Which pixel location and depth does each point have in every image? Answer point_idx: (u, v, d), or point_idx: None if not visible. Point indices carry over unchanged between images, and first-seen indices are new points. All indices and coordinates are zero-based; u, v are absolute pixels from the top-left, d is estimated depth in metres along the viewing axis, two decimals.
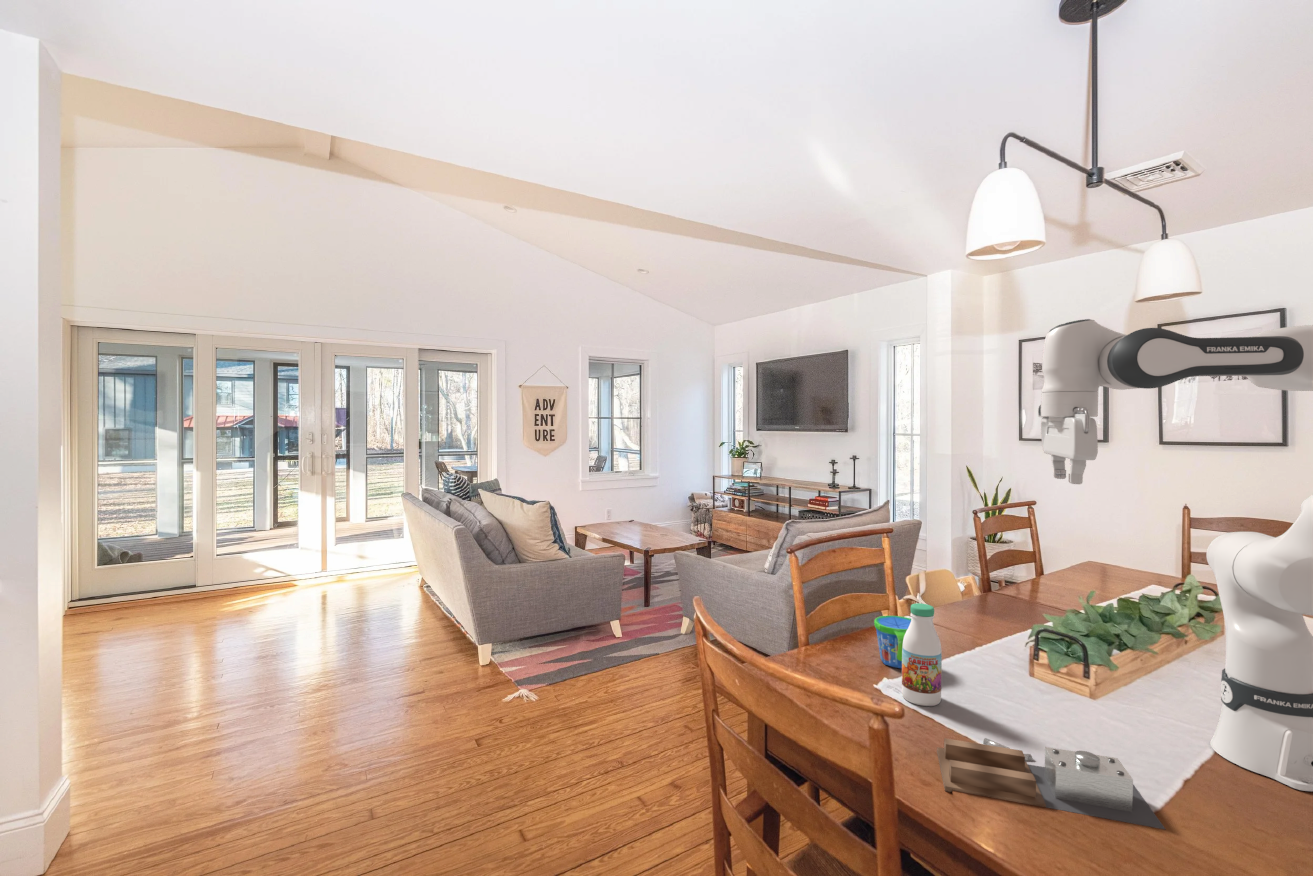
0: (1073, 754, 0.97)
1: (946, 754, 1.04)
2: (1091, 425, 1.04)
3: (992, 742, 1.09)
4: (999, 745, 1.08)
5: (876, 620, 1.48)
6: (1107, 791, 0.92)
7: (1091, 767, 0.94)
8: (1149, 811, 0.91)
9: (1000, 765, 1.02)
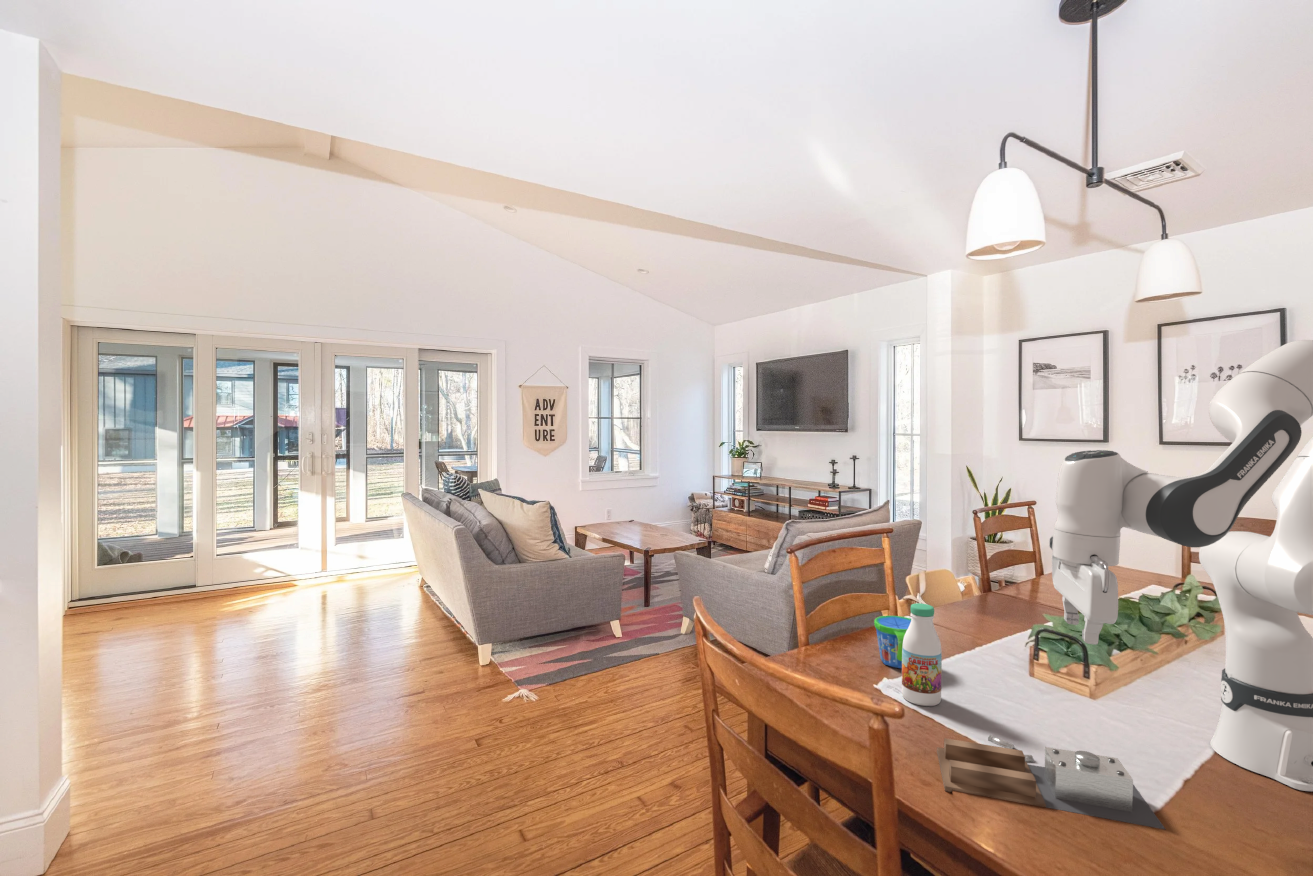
0: (1073, 754, 0.97)
1: (946, 754, 1.04)
2: (1111, 584, 0.89)
3: None
4: None
5: (876, 620, 1.48)
6: (1107, 791, 0.92)
7: (1091, 767, 0.94)
8: (1149, 811, 0.91)
9: (1000, 765, 1.02)
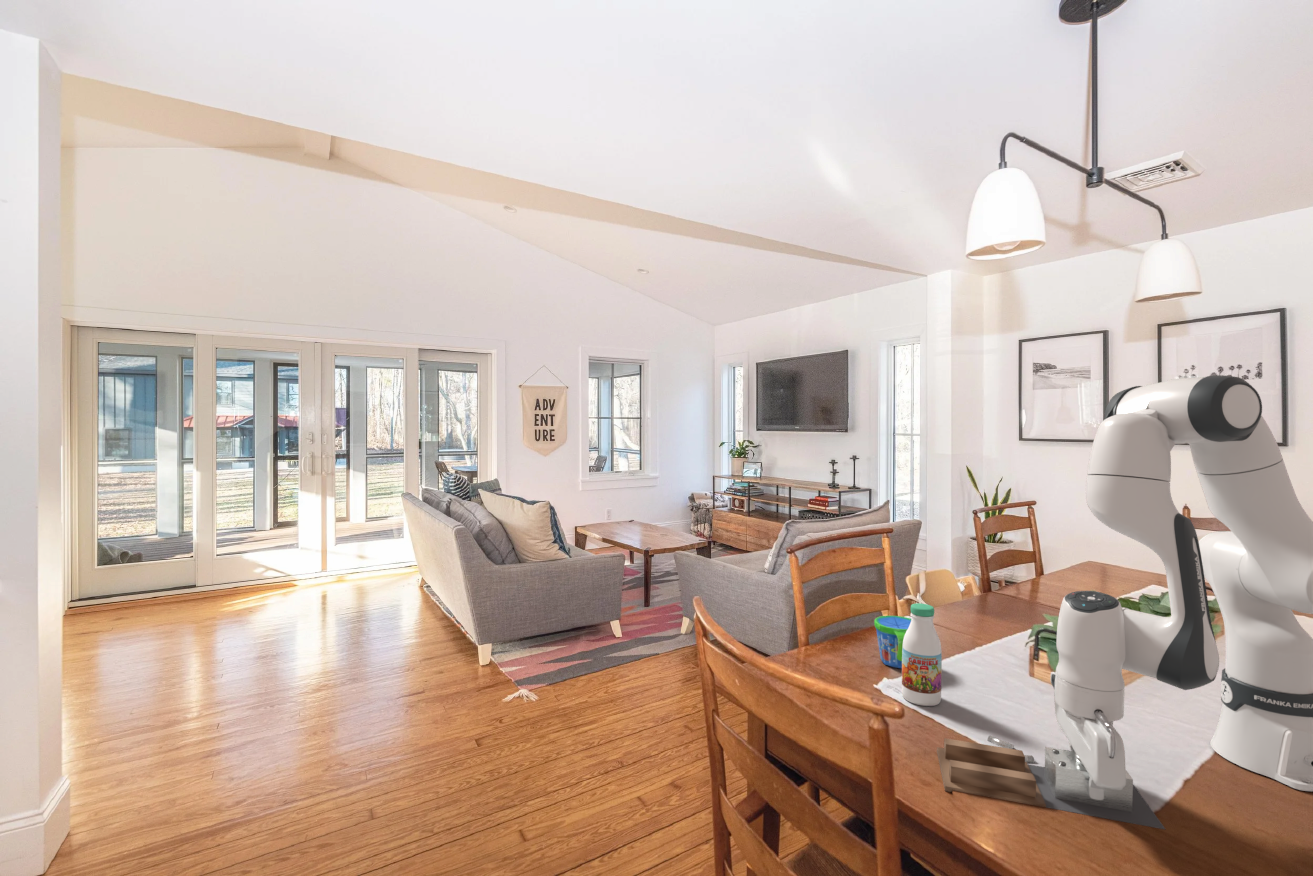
0: (1073, 754, 0.97)
1: (946, 754, 1.04)
2: (1117, 749, 0.86)
3: None
4: None
5: (876, 620, 1.48)
6: (1107, 790, 0.92)
7: None
8: (1149, 811, 0.91)
9: (1000, 765, 1.02)
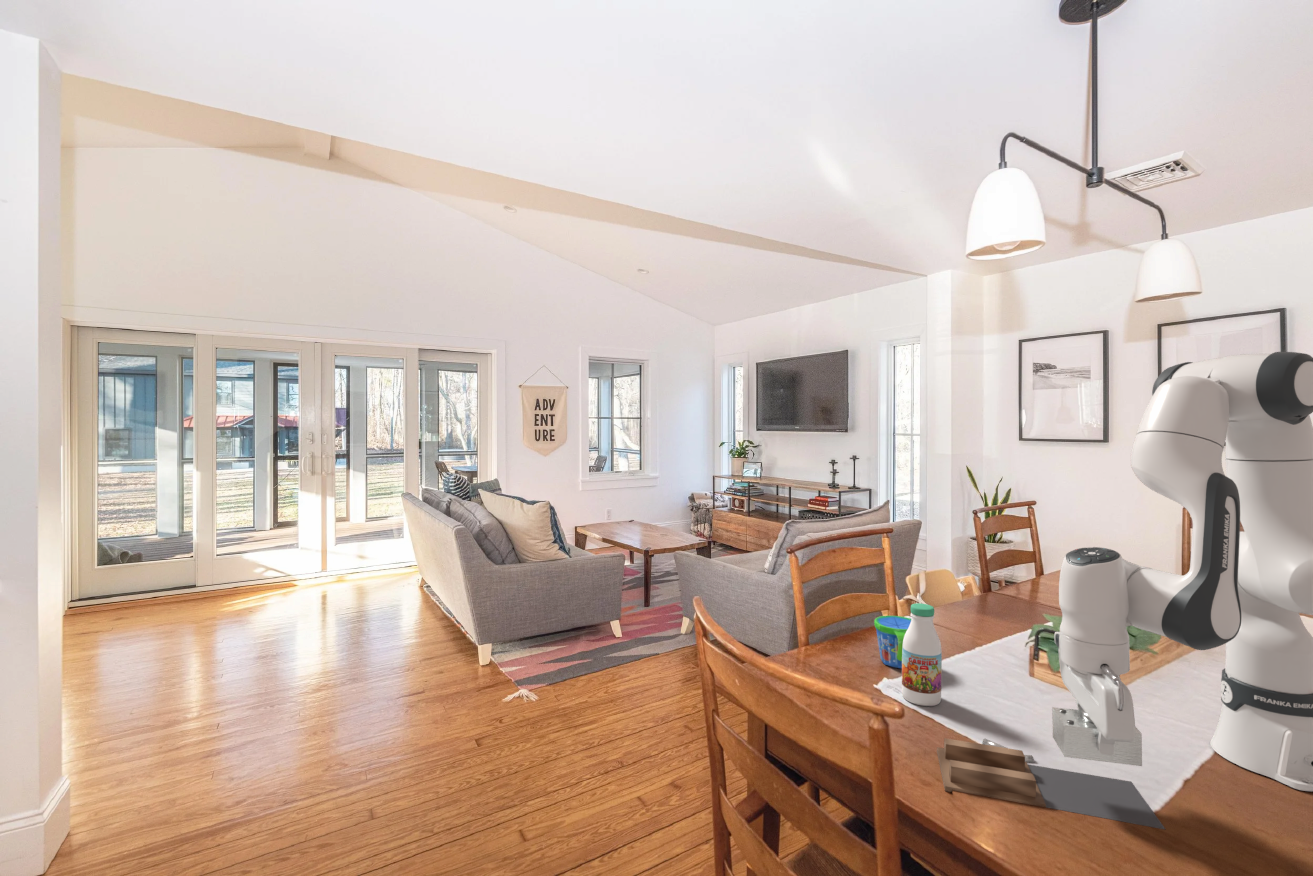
0: (1080, 713, 0.97)
1: (946, 754, 1.04)
2: (1126, 701, 0.85)
3: (990, 744, 1.09)
4: None
5: (876, 620, 1.48)
6: (1116, 746, 0.91)
7: None
8: (1149, 811, 0.91)
9: (1000, 765, 1.02)
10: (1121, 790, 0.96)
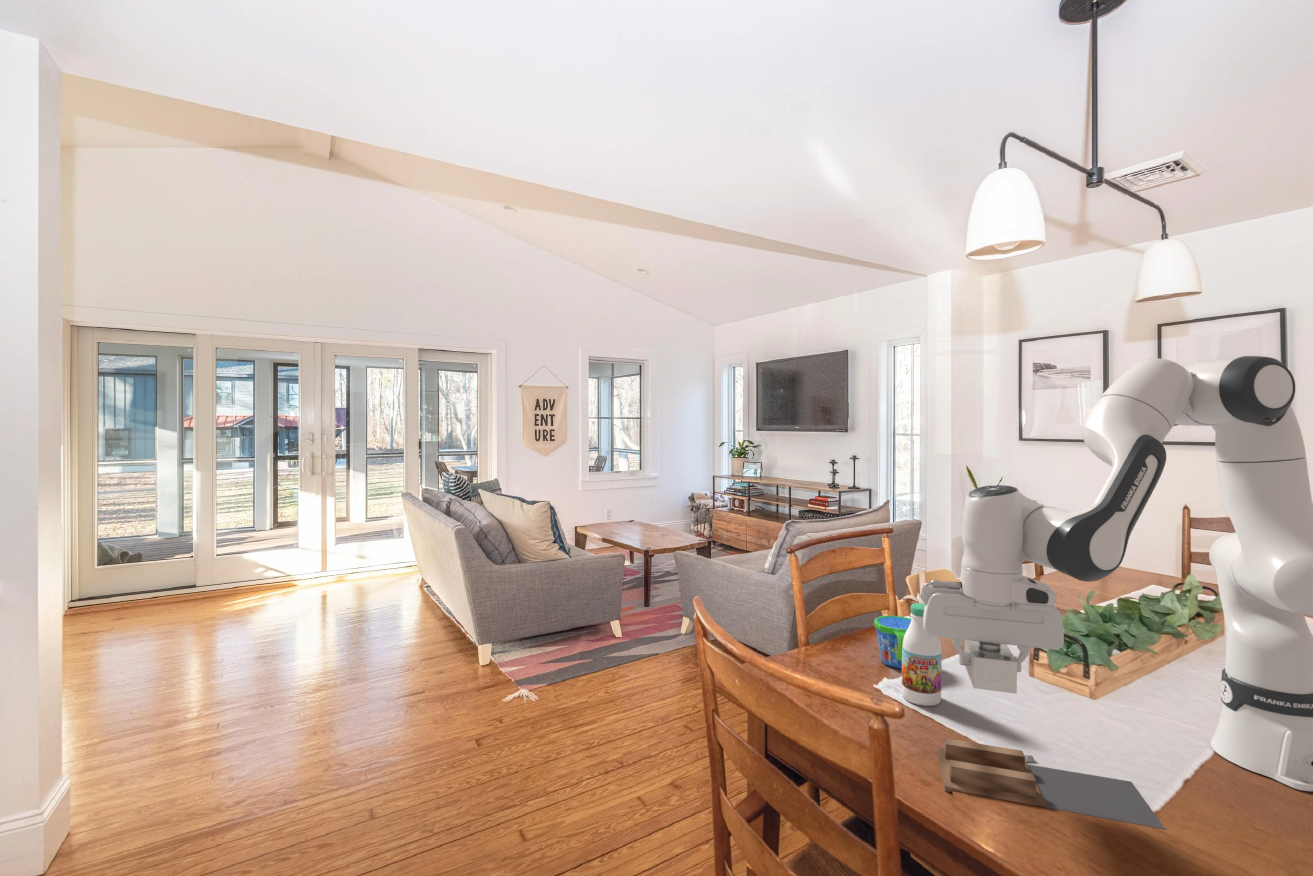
0: (1000, 646, 1.00)
1: (946, 754, 1.04)
2: (928, 599, 1.01)
3: None
4: None
5: (876, 620, 1.48)
6: (970, 664, 0.99)
7: (979, 647, 1.00)
8: (1149, 811, 0.91)
9: (1000, 765, 1.02)
10: (1121, 790, 0.96)
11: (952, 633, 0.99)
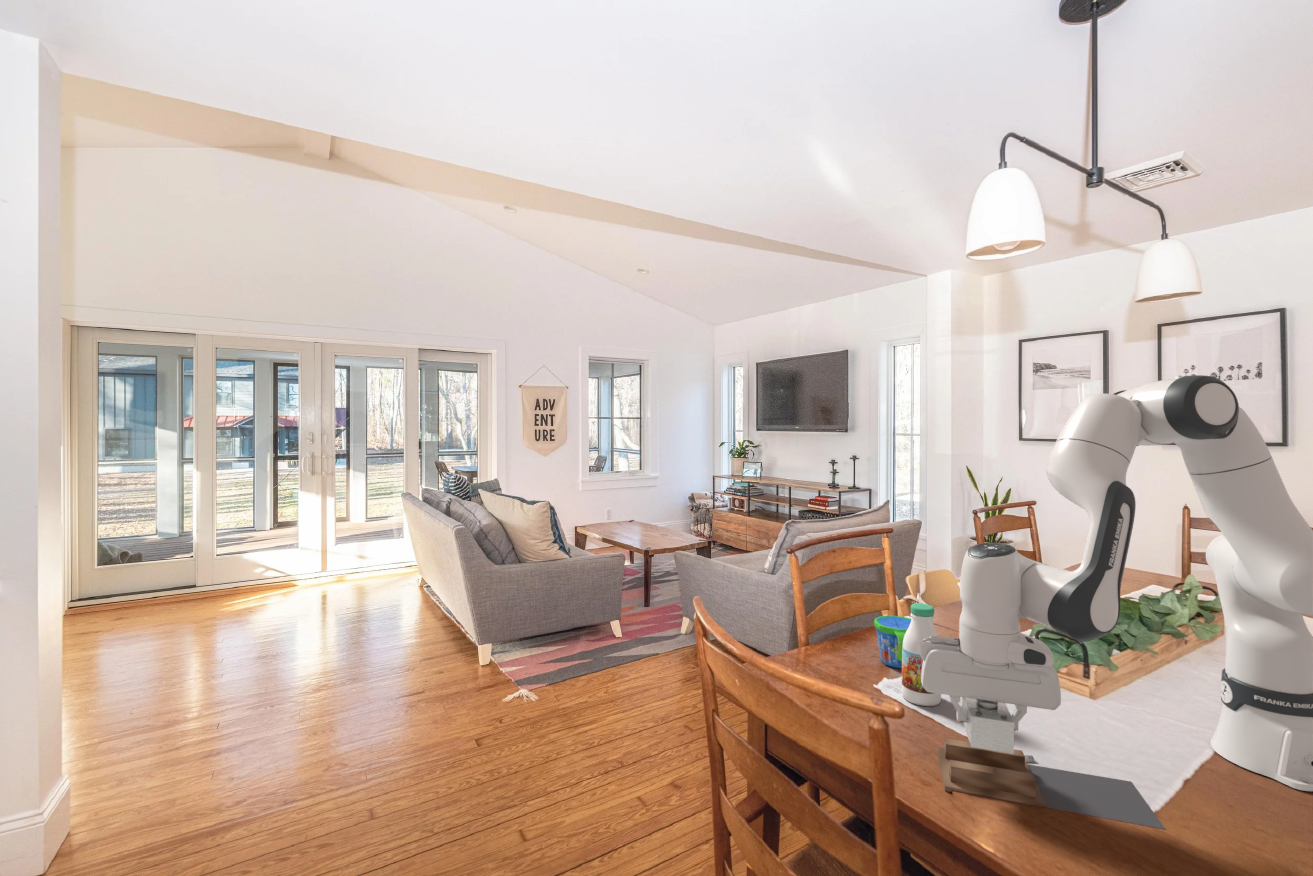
0: (998, 703, 1.00)
1: (946, 754, 1.04)
2: (926, 655, 1.02)
3: None
4: None
5: (876, 620, 1.48)
6: (968, 721, 0.99)
7: (977, 704, 1.00)
8: (1149, 811, 0.91)
9: (1000, 765, 1.02)
10: (1121, 790, 0.96)
11: (950, 690, 1.00)
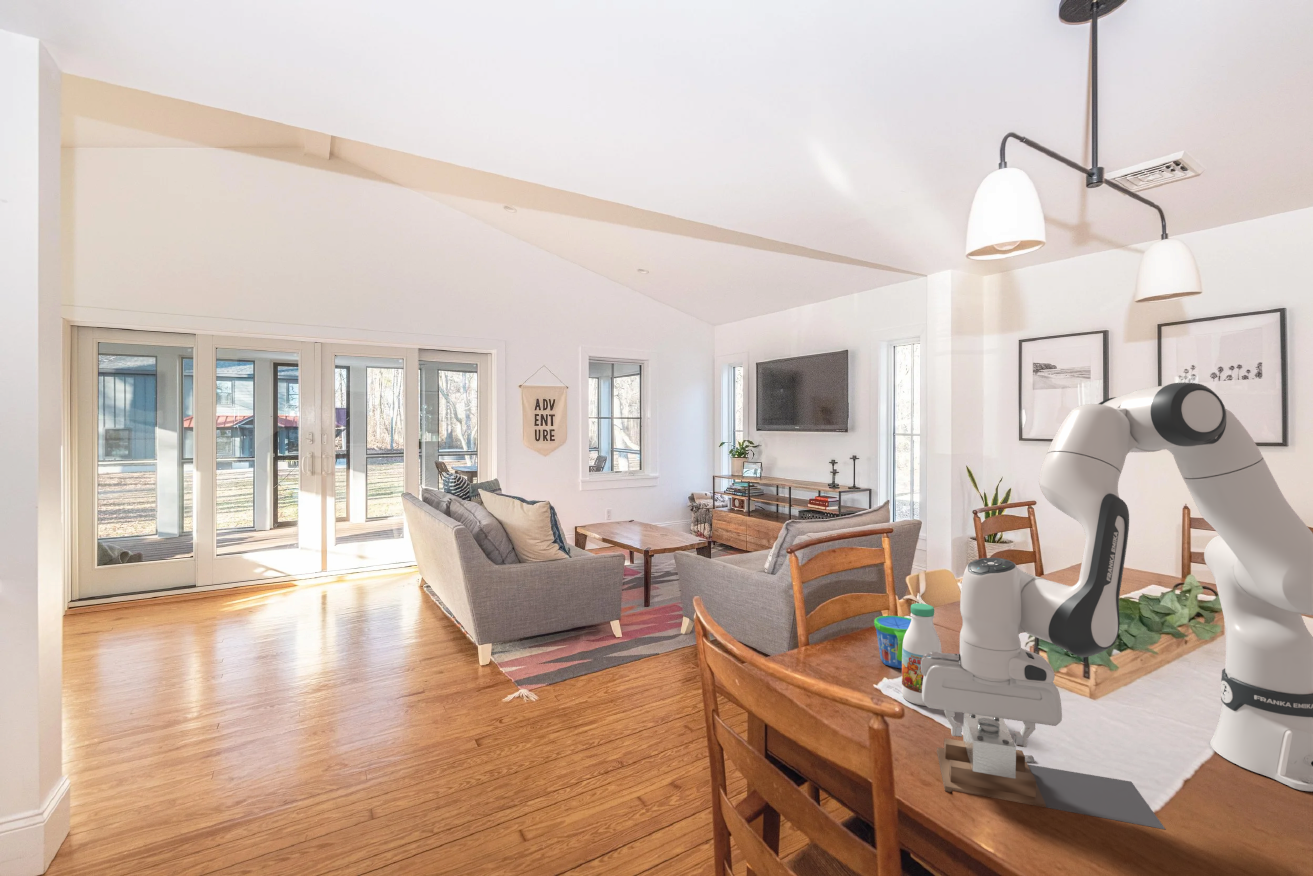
0: (999, 726, 1.00)
1: (946, 754, 1.04)
2: (927, 671, 1.02)
3: None
4: None
5: (876, 620, 1.48)
6: (969, 745, 0.99)
7: (978, 727, 1.00)
8: (1149, 811, 0.91)
9: None
10: (1121, 790, 0.96)
11: (951, 706, 1.00)
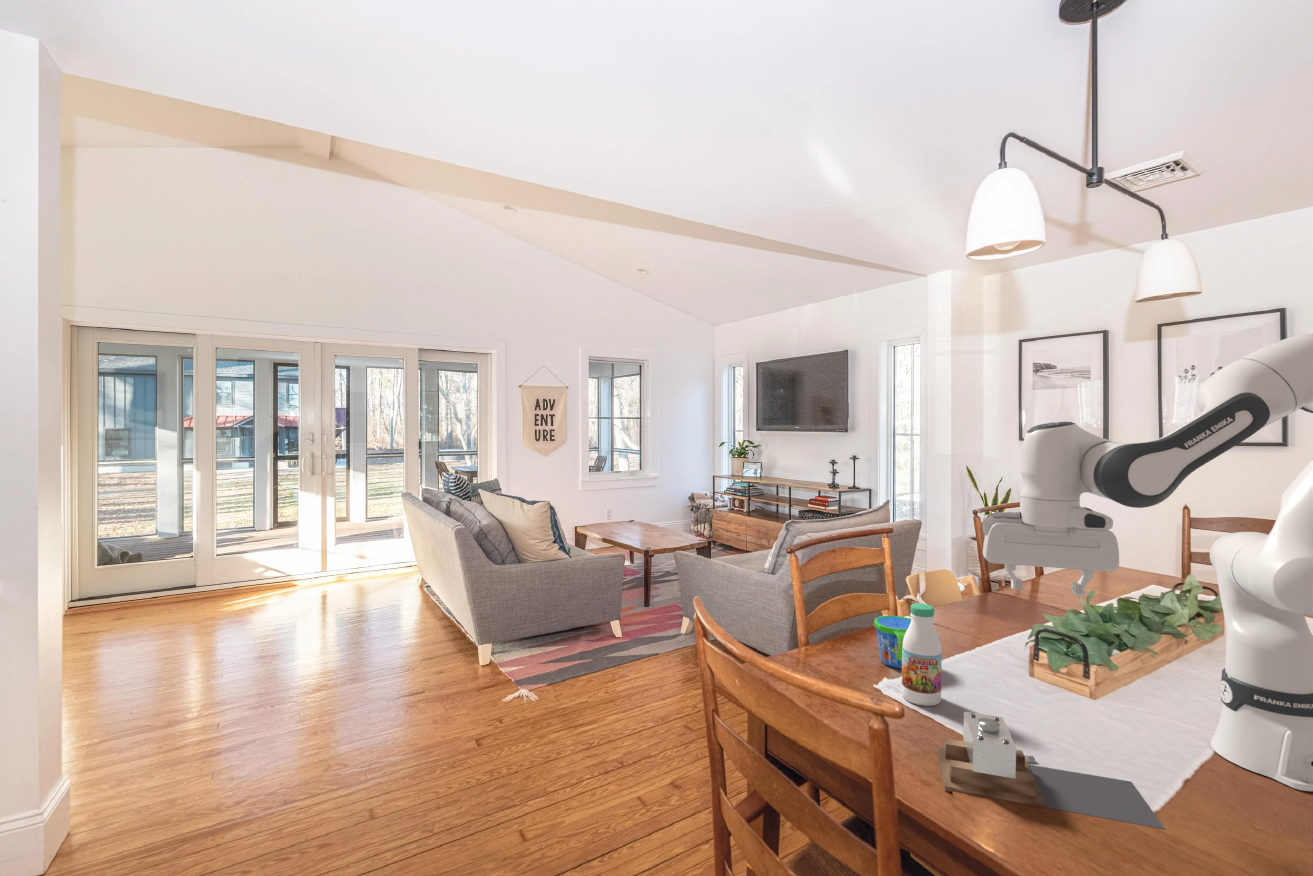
0: (999, 726, 1.00)
1: (946, 754, 1.04)
2: (989, 529, 1.08)
3: None
4: None
5: (876, 620, 1.48)
6: (969, 745, 0.99)
7: (978, 727, 1.00)
8: (1149, 811, 0.91)
9: None
10: (1121, 790, 0.96)
11: (1013, 560, 1.07)
